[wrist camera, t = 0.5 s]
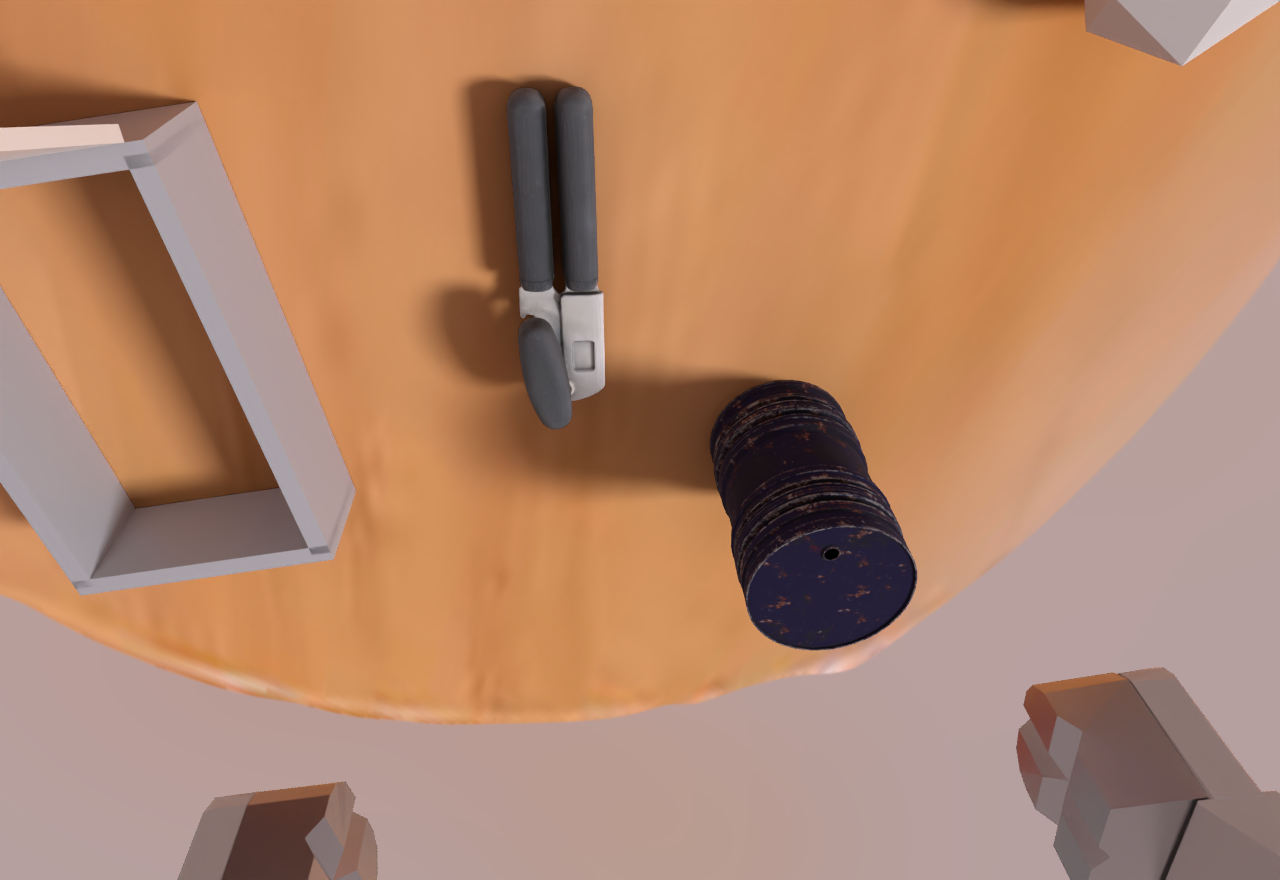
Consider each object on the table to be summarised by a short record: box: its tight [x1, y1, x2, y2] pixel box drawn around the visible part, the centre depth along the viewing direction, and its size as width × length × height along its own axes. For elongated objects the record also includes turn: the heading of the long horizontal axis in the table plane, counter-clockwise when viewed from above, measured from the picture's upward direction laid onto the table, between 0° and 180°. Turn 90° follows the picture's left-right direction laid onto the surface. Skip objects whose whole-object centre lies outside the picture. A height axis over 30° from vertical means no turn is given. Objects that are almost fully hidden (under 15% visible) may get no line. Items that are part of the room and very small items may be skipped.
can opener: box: [507, 87, 605, 429], centre depth 49 cm, size 19×5×6 cm, turn 0°
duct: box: [0, 101, 356, 595], centre depth 50 cm, size 26×16×7 cm, turn 7°
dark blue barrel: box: [710, 380, 917, 650], centre depth 54 cm, size 10×10×15 cm
